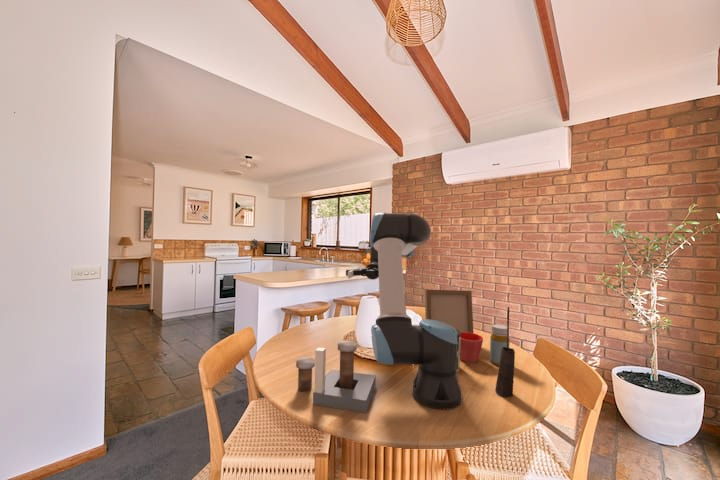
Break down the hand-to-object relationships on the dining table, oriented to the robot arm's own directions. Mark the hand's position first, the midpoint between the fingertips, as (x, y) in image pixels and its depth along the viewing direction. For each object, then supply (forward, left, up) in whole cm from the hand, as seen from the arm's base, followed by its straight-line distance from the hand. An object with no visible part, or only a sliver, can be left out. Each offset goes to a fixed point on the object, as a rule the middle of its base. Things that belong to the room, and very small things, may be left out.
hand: (364, 276), depth 121 cm
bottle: (-38, -41, -34) cm, 65 cm away
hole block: (-17, +23, -34) cm, 44 cm away
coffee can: (-26, -21, -34) cm, 48 cm away
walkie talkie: (-50, -17, -34) cm, 63 cm away
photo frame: (-9, -49, -34) cm, 60 cm away
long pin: (-17, +23, -34) cm, 44 cm away
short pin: (-6, +31, -34) cm, 46 cm away
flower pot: (-28, -35, -34) cm, 56 cm away
